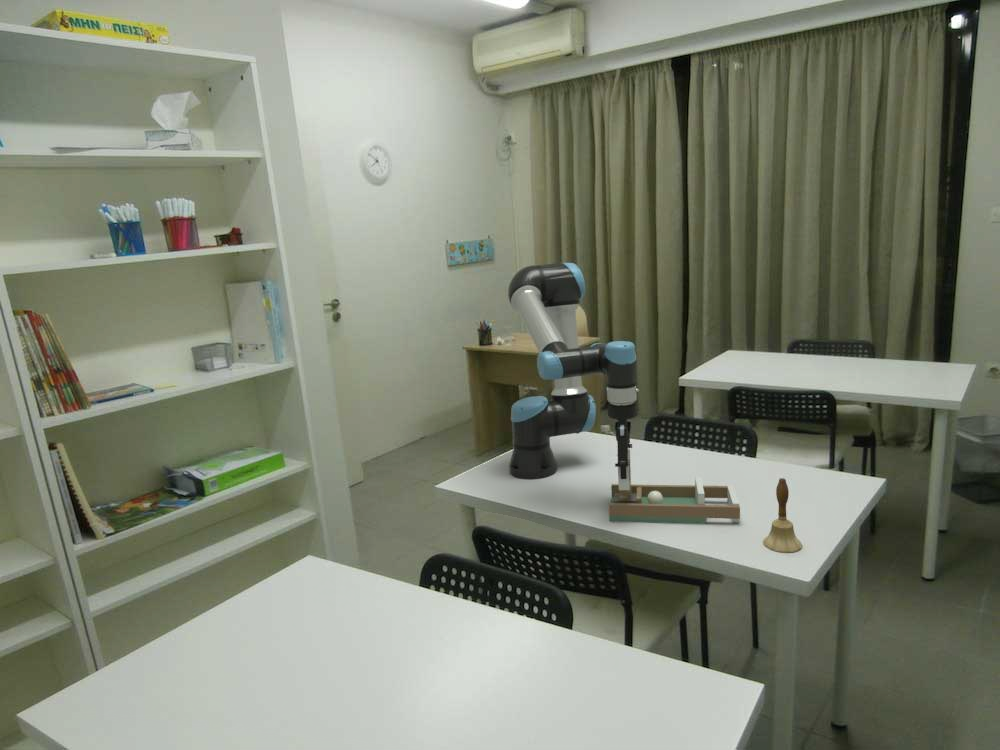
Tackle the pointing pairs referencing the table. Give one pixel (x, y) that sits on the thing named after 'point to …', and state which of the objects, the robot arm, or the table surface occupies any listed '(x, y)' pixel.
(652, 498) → the ball
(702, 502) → the pitch
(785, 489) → the hand bell
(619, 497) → the kicker
